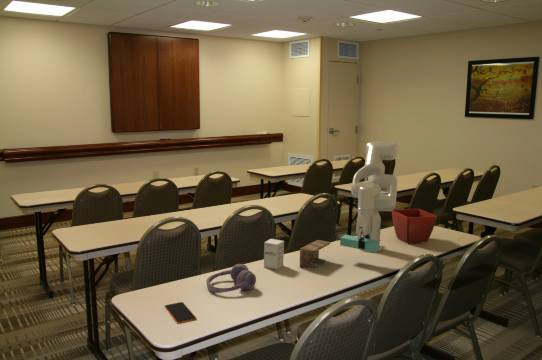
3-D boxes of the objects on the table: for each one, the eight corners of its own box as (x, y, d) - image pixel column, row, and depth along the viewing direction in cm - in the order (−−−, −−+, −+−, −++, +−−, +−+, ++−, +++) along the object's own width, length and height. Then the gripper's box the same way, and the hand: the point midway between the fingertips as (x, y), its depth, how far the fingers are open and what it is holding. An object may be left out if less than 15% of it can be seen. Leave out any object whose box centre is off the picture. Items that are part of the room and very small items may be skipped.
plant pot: (435, 244, 266) (438, 215, 263) (406, 246, 261) (408, 217, 258) (417, 235, 284) (419, 208, 282) (389, 237, 279) (390, 209, 277)
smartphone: (182, 303, 182) (182, 301, 182) (197, 320, 168) (197, 318, 168) (163, 307, 179) (163, 304, 178) (177, 325, 164) (177, 322, 164)
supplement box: (263, 267, 223) (263, 242, 221) (270, 262, 230) (270, 238, 228) (277, 270, 220) (277, 244, 218) (283, 265, 226) (284, 240, 224)
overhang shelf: (316, 257, 239) (317, 239, 237) (329, 260, 235) (329, 242, 233) (299, 267, 224) (300, 248, 222) (312, 270, 220) (313, 251, 219)
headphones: (246, 275, 211) (204, 287, 204) (244, 258, 209) (201, 270, 203) (260, 290, 194) (214, 303, 187) (257, 272, 192) (211, 285, 186)
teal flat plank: (345, 242, 238) (345, 234, 237) (378, 248, 228) (379, 240, 227) (340, 245, 233) (340, 237, 232) (374, 252, 223) (374, 244, 222)
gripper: (365, 206, 234) (363, 240, 238) (351, 214, 220) (349, 250, 224) (379, 208, 230) (377, 243, 234) (366, 216, 216) (364, 253, 220)
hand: (364, 246), depth 229 cm, fingers closed on teal flat plank, 6 cm apart
